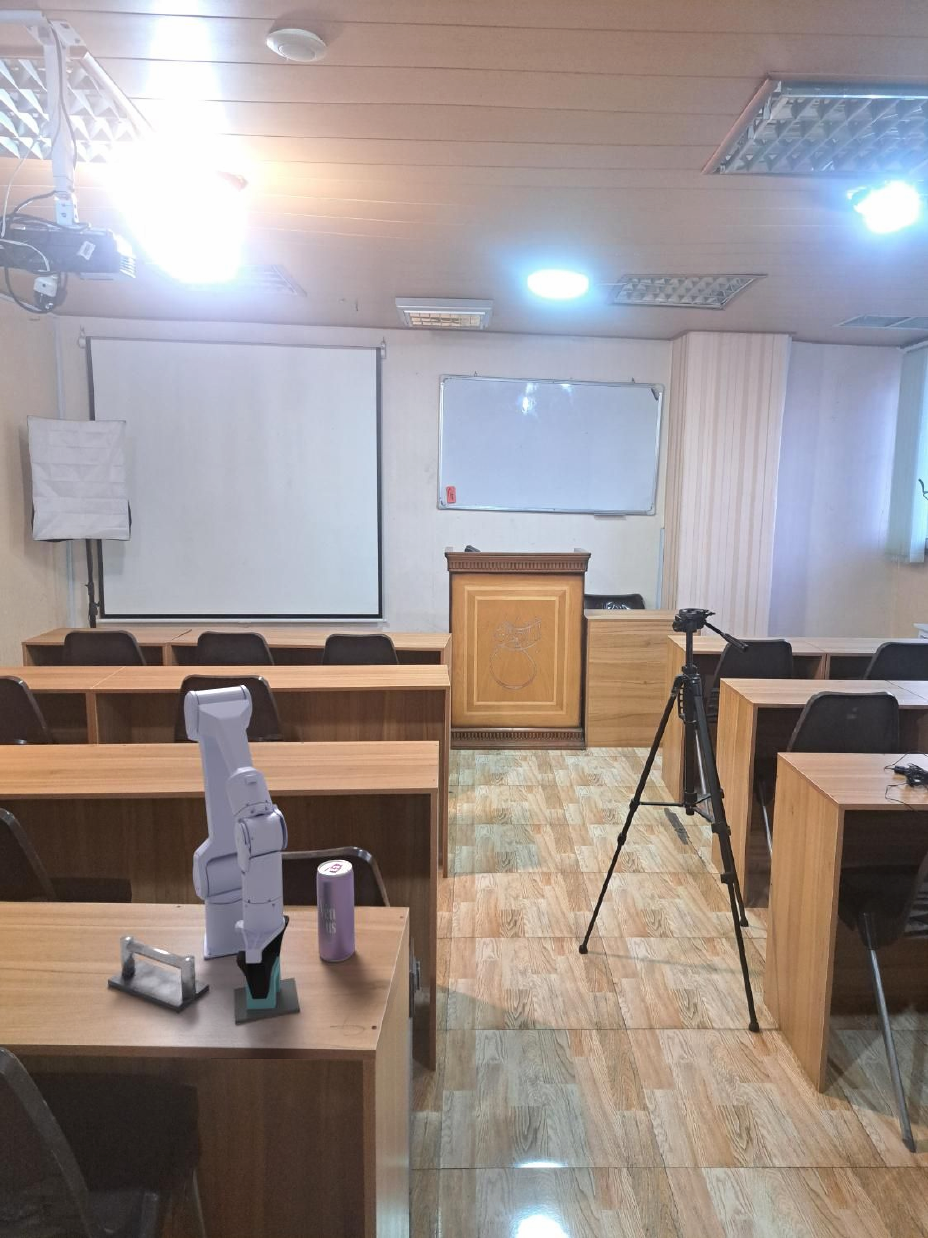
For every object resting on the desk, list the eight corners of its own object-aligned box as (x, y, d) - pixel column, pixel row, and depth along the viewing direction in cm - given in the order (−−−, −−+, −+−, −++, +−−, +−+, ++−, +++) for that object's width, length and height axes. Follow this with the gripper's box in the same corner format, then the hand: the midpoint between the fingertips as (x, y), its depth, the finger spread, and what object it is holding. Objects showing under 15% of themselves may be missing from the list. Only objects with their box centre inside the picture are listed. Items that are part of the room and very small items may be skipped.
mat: (294, 980, 115) (294, 977, 115) (299, 1011, 108) (299, 1008, 108) (234, 992, 112) (233, 989, 112) (235, 1024, 105) (235, 1021, 105)
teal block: (254, 988, 112) (253, 957, 112) (280, 987, 112) (279, 956, 112) (246, 1009, 107) (245, 977, 107) (274, 1008, 108) (273, 976, 107)
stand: (140, 966, 119) (138, 927, 119) (209, 990, 113) (207, 950, 112) (108, 986, 114) (105, 946, 113) (178, 1013, 107) (176, 971, 107)
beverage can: (361, 947, 125) (359, 862, 123) (344, 966, 119) (342, 877, 117) (329, 941, 126) (327, 857, 125) (311, 960, 121) (309, 872, 119)
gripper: (246, 873, 115) (249, 955, 117) (221, 920, 101) (225, 1014, 102) (291, 872, 116) (294, 954, 117) (274, 919, 101) (277, 1011, 103)
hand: (265, 982), depth 110 cm, fingers open, 7 cm apart
